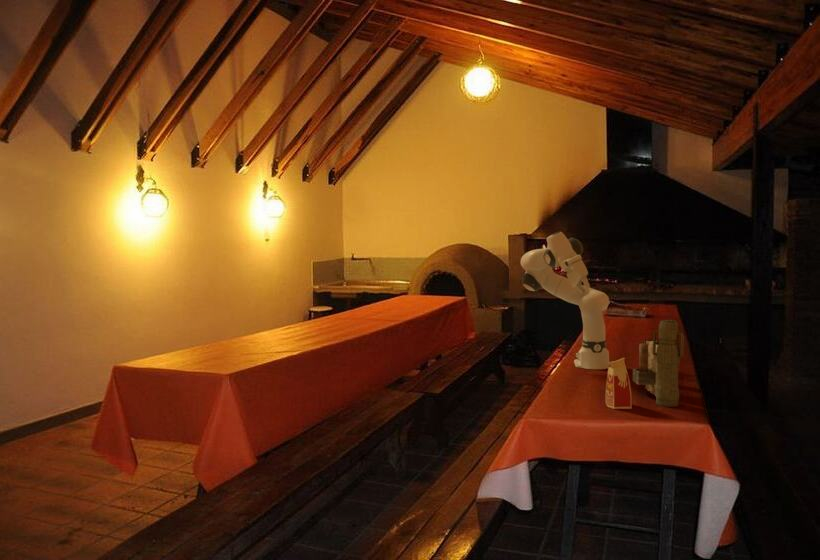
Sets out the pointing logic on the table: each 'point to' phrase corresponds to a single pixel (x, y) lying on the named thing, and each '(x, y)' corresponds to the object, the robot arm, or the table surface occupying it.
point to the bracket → (651, 375)
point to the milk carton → (618, 386)
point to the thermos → (668, 362)
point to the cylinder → (643, 357)
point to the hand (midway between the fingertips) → (586, 290)
